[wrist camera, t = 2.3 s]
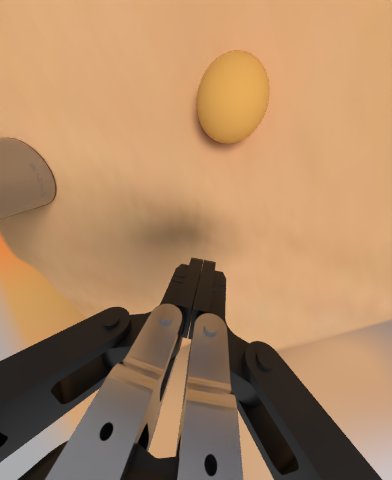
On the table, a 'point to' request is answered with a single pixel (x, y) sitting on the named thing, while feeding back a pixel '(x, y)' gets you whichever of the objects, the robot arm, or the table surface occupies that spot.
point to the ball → (233, 96)
